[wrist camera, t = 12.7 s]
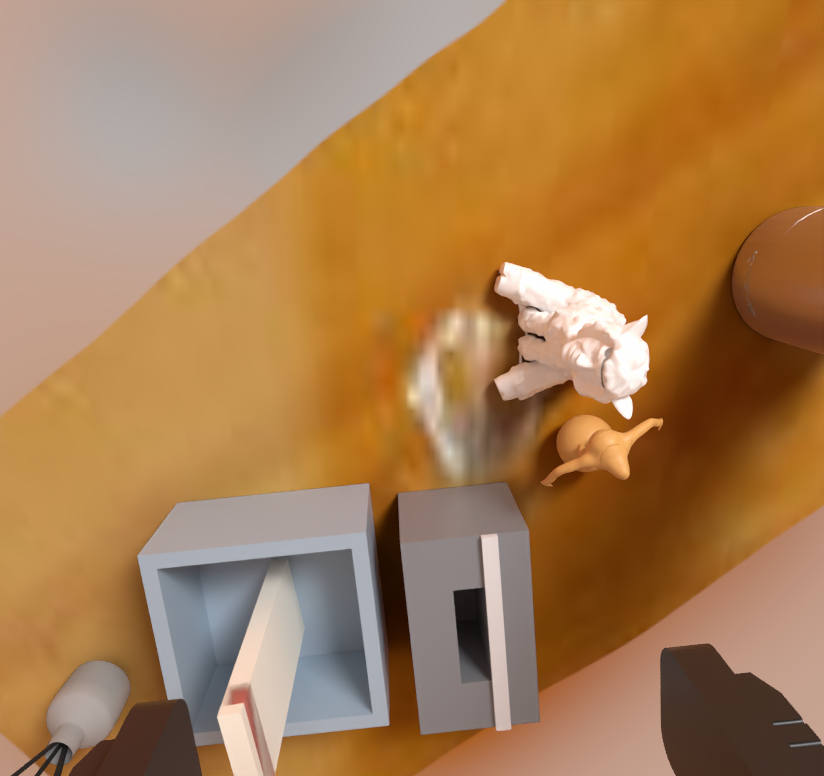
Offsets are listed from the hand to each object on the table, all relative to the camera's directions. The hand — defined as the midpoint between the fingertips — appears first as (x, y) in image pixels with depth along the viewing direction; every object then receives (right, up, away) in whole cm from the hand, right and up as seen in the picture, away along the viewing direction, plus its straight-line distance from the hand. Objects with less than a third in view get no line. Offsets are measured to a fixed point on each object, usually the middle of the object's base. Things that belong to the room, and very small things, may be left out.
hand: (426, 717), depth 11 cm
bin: (-10, -9, +39) cm, 41 cm away
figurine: (+11, +3, +37) cm, 39 cm away
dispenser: (+3, -9, +39) cm, 40 cm away
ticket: (-9, -10, +38) cm, 40 cm away
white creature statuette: (+10, +10, +35) cm, 38 cm away
